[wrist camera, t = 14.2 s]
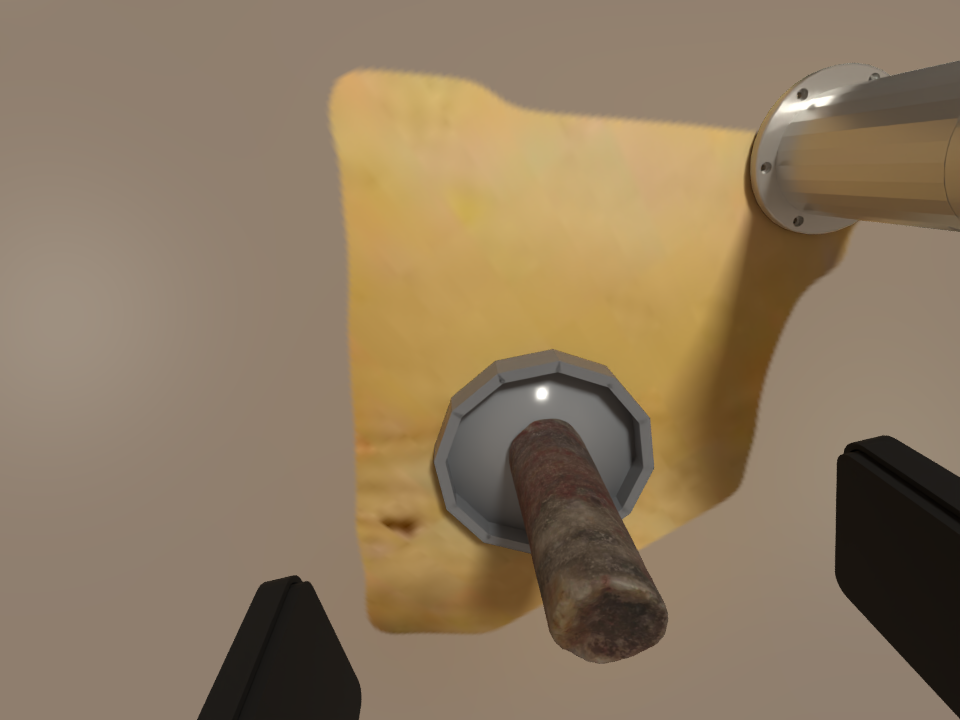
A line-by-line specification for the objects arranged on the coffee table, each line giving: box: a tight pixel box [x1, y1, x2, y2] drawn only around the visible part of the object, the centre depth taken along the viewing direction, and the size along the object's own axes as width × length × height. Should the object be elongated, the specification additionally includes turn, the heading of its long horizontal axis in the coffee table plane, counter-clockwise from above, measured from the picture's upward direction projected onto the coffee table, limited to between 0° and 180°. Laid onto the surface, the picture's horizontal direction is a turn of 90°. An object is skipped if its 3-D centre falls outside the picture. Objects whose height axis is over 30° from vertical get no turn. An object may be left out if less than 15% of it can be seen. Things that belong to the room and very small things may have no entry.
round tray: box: [434, 349, 654, 554], centre depth 48 cm, size 20×20×3 cm
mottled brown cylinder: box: [509, 419, 668, 664], centre depth 39 cm, size 8×7×20 cm
